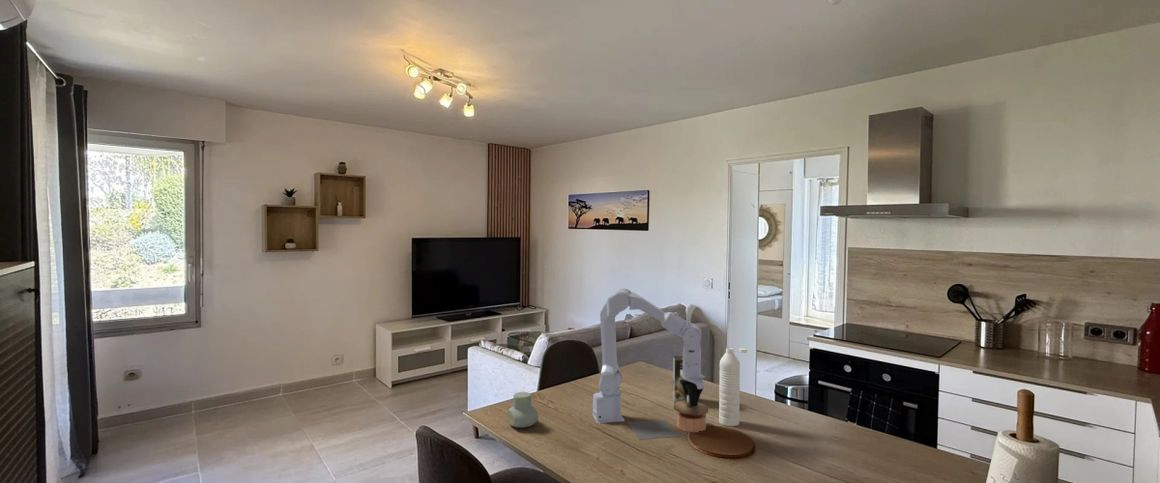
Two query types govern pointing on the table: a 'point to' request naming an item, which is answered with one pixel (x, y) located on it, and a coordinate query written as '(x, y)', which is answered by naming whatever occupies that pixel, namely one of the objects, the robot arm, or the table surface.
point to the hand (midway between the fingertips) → (691, 404)
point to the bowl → (691, 422)
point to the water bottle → (729, 388)
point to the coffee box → (677, 379)
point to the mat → (653, 429)
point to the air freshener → (522, 411)
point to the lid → (690, 408)
